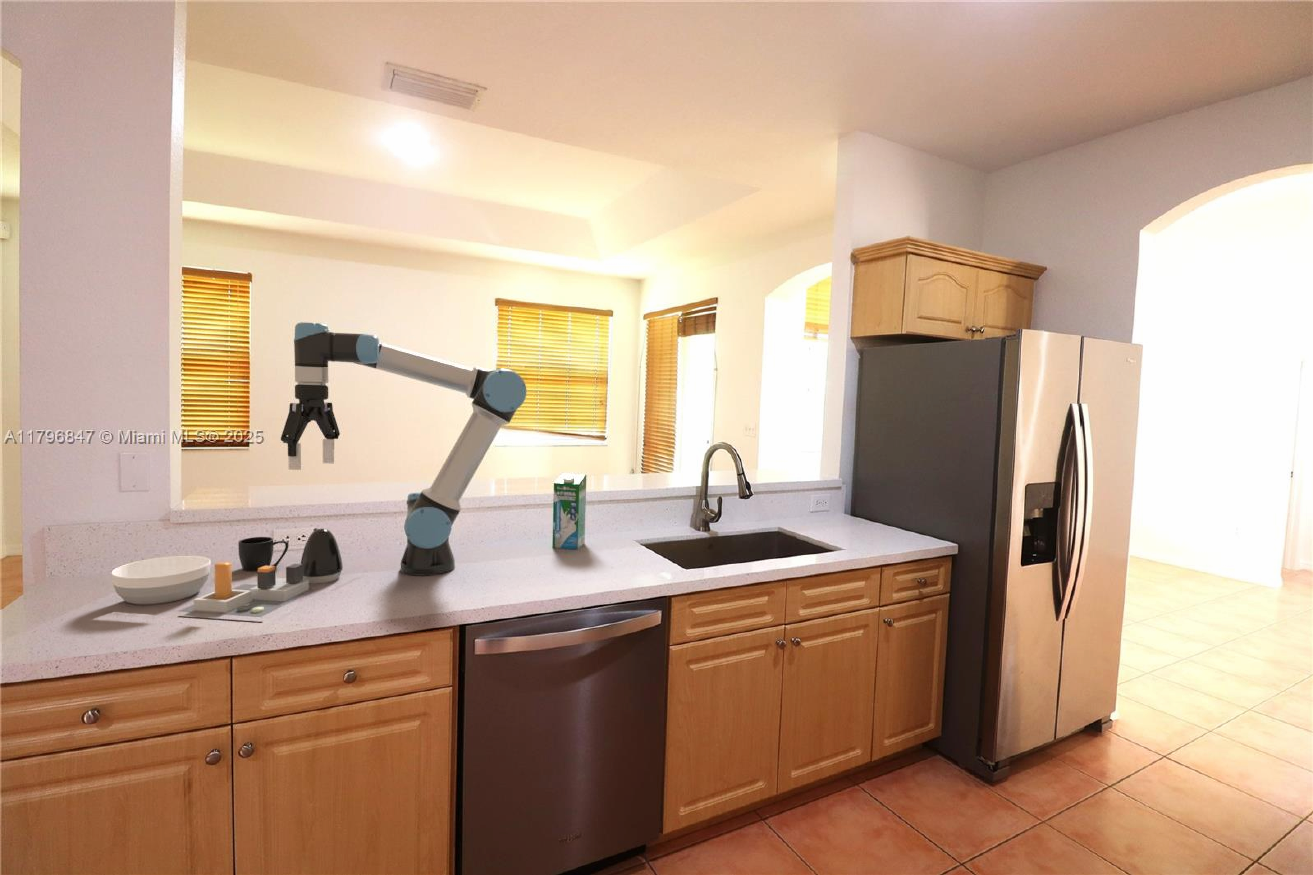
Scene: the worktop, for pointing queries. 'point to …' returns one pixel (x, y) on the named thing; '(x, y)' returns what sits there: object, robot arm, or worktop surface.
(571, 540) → the milk carton
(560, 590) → the worktop surface
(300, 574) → the block
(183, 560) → the bowl
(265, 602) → the panel board
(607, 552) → the worktop surface
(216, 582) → the pin
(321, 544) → the black domed piece
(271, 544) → the mug
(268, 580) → the block
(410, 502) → the robot arm
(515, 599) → the worktop surface
